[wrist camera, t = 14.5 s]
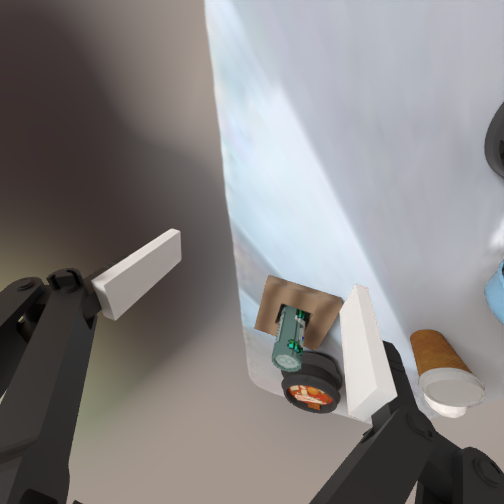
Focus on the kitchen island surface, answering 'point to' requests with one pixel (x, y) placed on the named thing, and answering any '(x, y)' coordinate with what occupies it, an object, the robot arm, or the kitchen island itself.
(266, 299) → the frame
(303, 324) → the can
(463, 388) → the disposable coffee cup
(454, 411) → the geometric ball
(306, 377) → the casserole
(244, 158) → the kitchen island surface
